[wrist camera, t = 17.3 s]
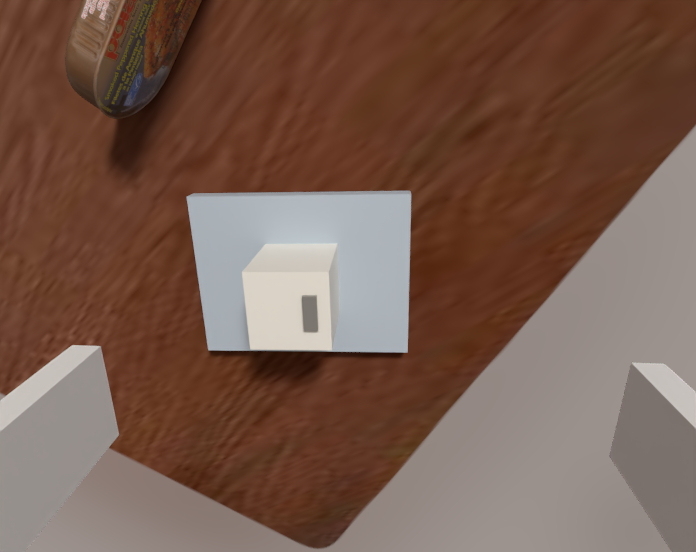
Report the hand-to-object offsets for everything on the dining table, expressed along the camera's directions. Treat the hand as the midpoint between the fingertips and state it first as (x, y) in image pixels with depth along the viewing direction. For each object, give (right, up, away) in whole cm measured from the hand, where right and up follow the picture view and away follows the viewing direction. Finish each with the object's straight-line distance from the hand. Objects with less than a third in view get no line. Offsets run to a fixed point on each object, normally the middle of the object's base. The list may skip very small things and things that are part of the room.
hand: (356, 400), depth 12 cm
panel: (-4, +3, +29) cm, 29 cm away
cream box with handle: (-4, +3, +28) cm, 28 cm away
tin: (-13, +22, +23) cm, 35 cm away
